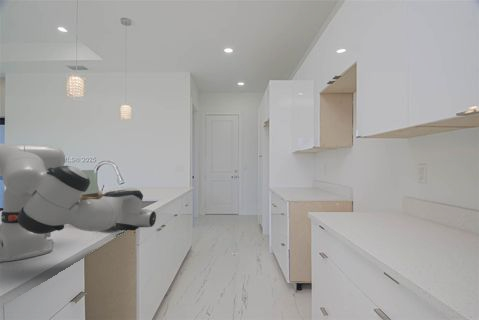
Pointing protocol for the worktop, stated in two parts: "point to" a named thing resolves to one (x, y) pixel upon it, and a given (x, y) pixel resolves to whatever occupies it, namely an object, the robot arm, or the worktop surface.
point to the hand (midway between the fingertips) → (104, 214)
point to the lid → (91, 183)
